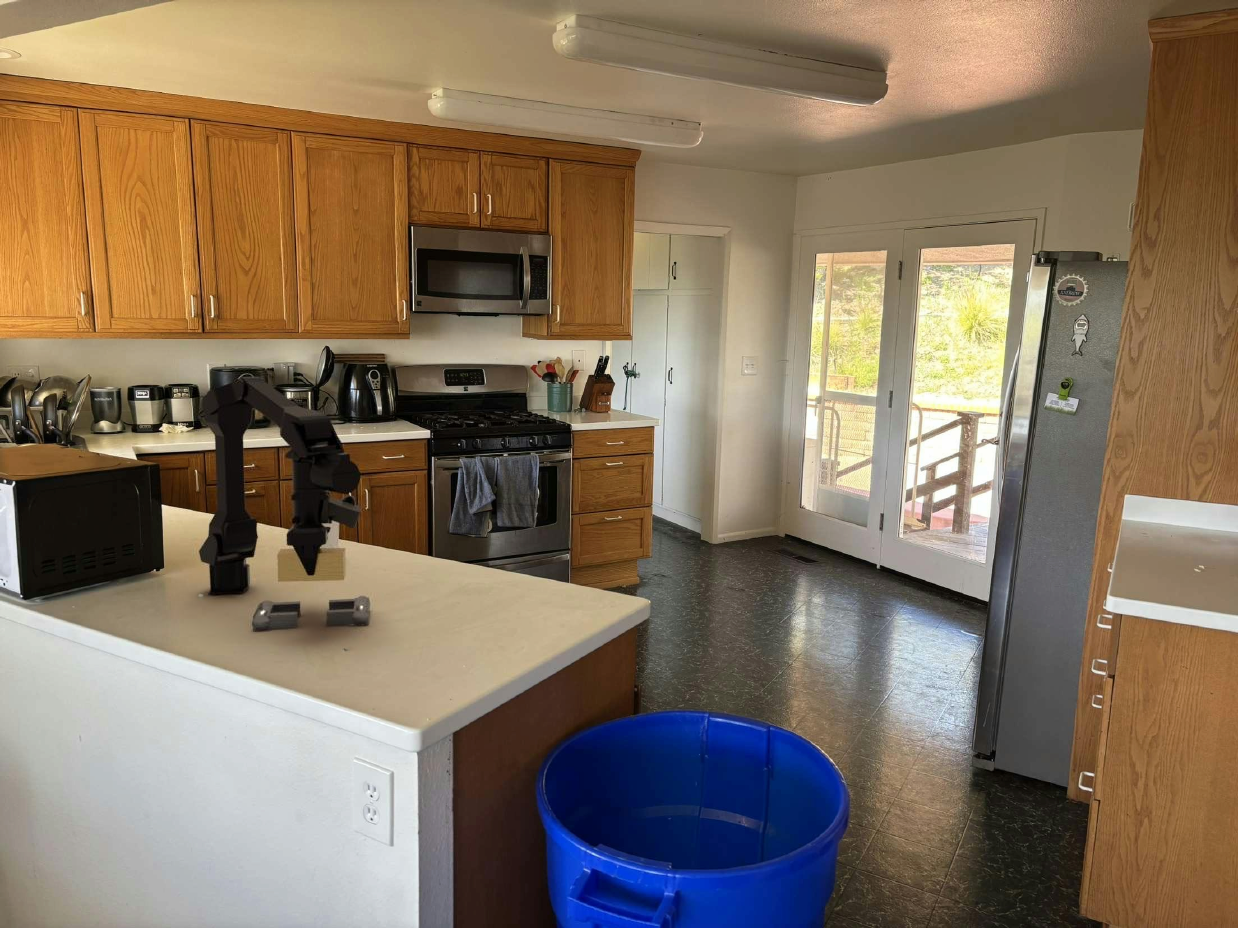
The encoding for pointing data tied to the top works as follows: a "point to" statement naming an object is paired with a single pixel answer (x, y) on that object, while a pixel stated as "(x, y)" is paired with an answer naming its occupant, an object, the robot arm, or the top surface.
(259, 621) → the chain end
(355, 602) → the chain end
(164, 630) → the top surface
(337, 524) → the white cup
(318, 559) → the gold ingot
